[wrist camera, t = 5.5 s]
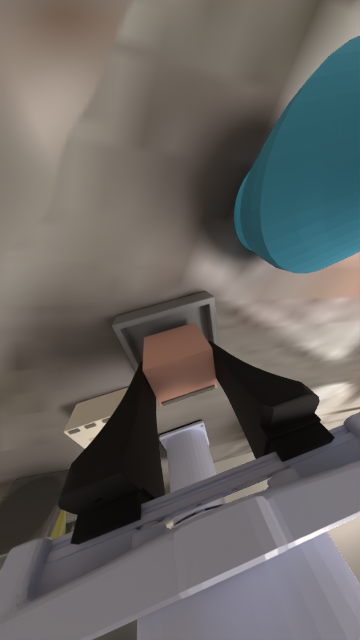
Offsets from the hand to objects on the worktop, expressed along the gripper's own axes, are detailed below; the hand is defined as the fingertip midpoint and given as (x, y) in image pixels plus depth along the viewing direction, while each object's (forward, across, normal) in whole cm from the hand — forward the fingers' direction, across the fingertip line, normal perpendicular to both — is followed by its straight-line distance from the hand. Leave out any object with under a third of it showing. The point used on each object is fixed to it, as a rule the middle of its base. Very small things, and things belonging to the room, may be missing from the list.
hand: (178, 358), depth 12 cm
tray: (+4, 0, 0) cm, 4 cm away
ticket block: (+4, +10, +10) cm, 15 cm away
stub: (+2, 0, 0) cm, 2 cm away
